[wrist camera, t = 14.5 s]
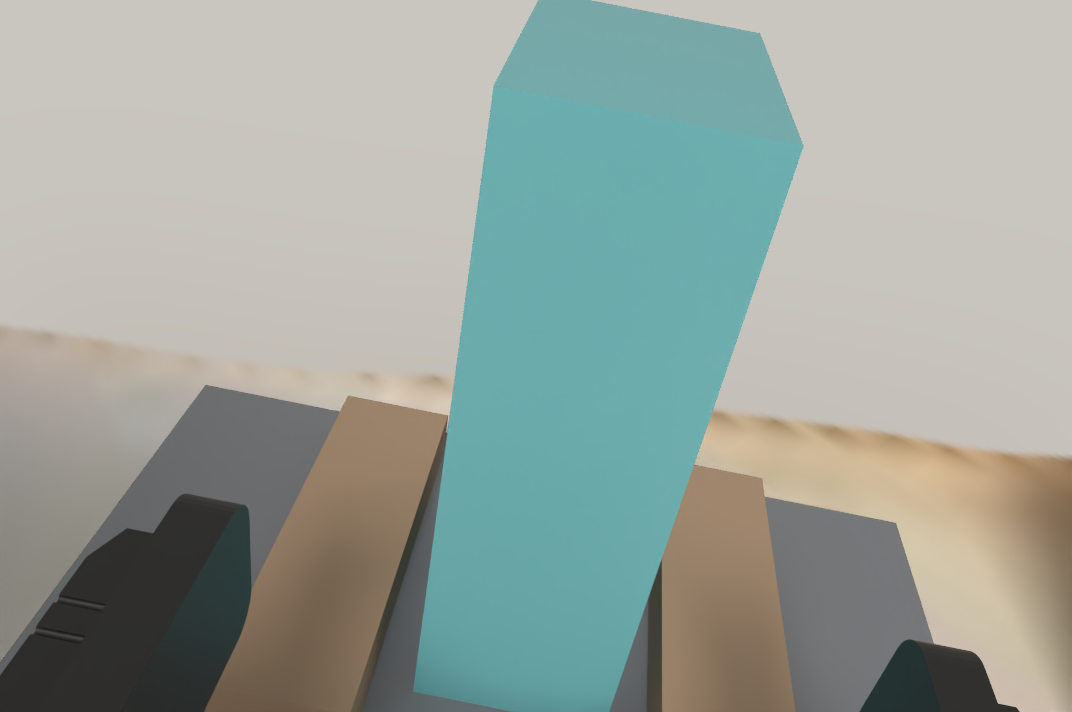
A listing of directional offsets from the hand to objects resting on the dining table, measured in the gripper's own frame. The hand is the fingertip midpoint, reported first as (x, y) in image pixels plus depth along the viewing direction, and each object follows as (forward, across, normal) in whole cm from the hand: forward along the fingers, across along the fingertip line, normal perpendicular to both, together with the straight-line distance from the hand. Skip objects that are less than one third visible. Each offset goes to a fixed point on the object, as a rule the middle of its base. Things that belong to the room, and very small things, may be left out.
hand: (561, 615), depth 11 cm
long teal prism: (+8, 0, +9) cm, 12 cm away
